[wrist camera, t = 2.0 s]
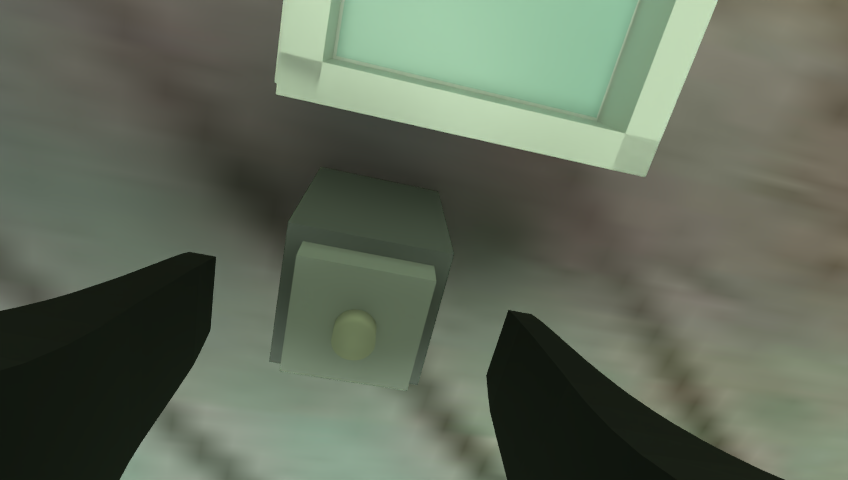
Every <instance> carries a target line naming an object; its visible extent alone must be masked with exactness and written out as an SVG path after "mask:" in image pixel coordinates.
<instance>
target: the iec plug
mask: <svg viewBox="0 0 848 480" xmlns="http://www.w3.org/2000/svg"><path fill="white" fill-rule="evenodd" d="M453 256H454V252H453V248H452V244H451V240H450V236H449V232H448V228H447V224H446V220H445V216H444V212H443V208H442V204H441V200H440V196H439V192H438V191H433V190H429V189H424V188H419V187H414V186H410V185H405V184H400V183H395V182H391V181H386V180H381V179H376V178H371V177H367V176H362V175H357V174H352V173H348V172H343V171H338V170H333V169H329V168H324V167H321V168H320V169H319V171H318V173H317V174H316V176H315V178H314V179H313V181H312V183H311V184H310V186H309V188H308V189H307V191H306V193H305V194H304V196H303V198H302V200H301V201H300V203H299V205H298V206H297V208H296V210H295V211H294V213H293V215H292V216H291V218H290V220H289V221H288V226H287V233H286V241H285V248H284V255H283V263H282V270H281V278H280V285H279V293H278V300H277V307H276V315H275V322H274V330H273V337H272V345H271V352H270V359H269V362H274V363H280V371H281V372H288V373H294V374H301V375H307V376H314V377H320V378H327V379H333V380H340V381H346V382H353V383H359V384H366V385H372V386H379V387H385V388H392V389H398V390H405V391H407V389H408V385H409V384H415V385H418V382H419V378H420V375H421V371H422V368H423V364H424V360H425V357H426V353H427V350H428V346H429V342H430V339H431V335H432V332H433V328H434V324H435V321H436V317H437V314H438V310H439V307H440V303H441V299H442V296H443V292H444V289H445V285H446V281H447V278H448V274H449V271H450V267H451V263H452V260H453Z"/></svg>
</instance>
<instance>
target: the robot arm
mask: <svg viewBox="0 0 848 480" xmlns="http://www.w3.org/2000/svg"><path fill="white" fill-rule="evenodd" d="M215 263H216V257H214V256H209V255H203V254H198V253H192V252H187V253H183V254H180V255H177V256H174V257H171V258H169V259H166V260H163V261H161V262H158V263H156V264H153V265H150V266H148V267H145V268H142V269H140V270H137V271H134V272H132V273H129V274H127V275H124V276H121V277H118V278H116V279H113V280H110V281H107V282H104V283H101V284H98V285H95V286H92V287H89V288H86V289H83V290H80V291H77V292H74V293H70V294H67V295H64V296H60V297H56V298H53V299H49V300H45V301H41V302H37V303H33V304H29V305H25V306H21V307H17V308H12V309H8V310H3V311H0V480H120V478H121V476H122V474H123V472H124V470H125V468H126V467H127V465H128V463H129V461H130V460H131V458H132V456H133V455H134V453H135V452H136V450H137V448H138V447H139V445H140V443H141V442H142V440H143V439H144V438H145V436H146V435H147V433H148V432H149V430H150V429H151V427H152V426H153V424H154V423H155V421H156V420H157V418H158V417H159V415H160V414H161V413H162V411H163V410H164V408H165V407H166V405H167V404H168V402H169V401H170V399H171V398H172V396H173V395H174V393H175V392H176V391H177V389H178V388H179V386H180V385H181V383H182V382H183V380H184V379H185V377H186V376H187V374H188V373H189V371H190V369H191V368H192V366H193V365H194V363H195V361H196V359H197V357H198V355H199V353H200V351H201V349H202V347H203V345H204V343H205V340H206V338H207V336H208V334H209V332H210V328H211V315H212V302H213V289H214V276H215ZM486 376H487V388H488V398H489V406H490V413H491V417H492V421H493V425H494V429H495V434H496V438H497V442H498V446H499V449H500V453H501V457H502V461H503V465H504V469H505V473H506V477H507V480H784V479H782V478H779V477H777V476H775V475H772V474H770V473H767V472H765V471H763V470H761V469H759V468H756V467H754V466H752V465H750V464H748V463H746V462H744V461H742V460H740V459H738V458H736V457H734V456H732V455H730V454H728V453H726V452H724V451H722V450H720V449H718V448H716V447H714V446H712V445H710V444H709V443H707V442H705V441H703V440H701V439H699V438H698V437H696V436H694V435H692V434H691V433H689V432H687V431H686V430H684V429H682V428H680V427H679V426H677V425H675V424H673V423H672V422H670V421H669V420H667V419H665V418H664V417H662V416H661V415H659V414H657V413H656V412H654V411H653V410H651V409H650V408H648V407H647V406H645V405H644V404H643V403H641V402H640V401H638V400H637V399H635V398H634V397H632V396H631V395H629V394H628V393H627V392H625V391H624V390H623V389H621V388H620V387H619V386H617V385H616V384H615V383H613V382H612V381H611V380H610V379H608V378H607V377H606V376H605V375H603V374H602V373H601V372H599V371H598V370H597V369H596V368H595V367H593V366H592V365H591V364H590V363H589V362H587V361H586V360H585V359H584V358H583V357H582V356H580V355H579V354H578V353H577V352H576V351H575V350H574V349H572V348H571V347H570V346H569V345H568V344H567V343H566V342H564V341H563V340H562V339H561V338H560V337H559V336H558V335H557V334H555V333H554V332H553V331H552V330H551V329H550V328H549V327H547V326H546V325H545V324H544V323H543V322H541V321H540V320H539V319H538V318H536V317H535V316H533V315H532V314H527V313H522V312H516V311H511V310H508V313H507V316H506V319H505V322H504V325H503V328H502V331H501V334H500V337H499V340H498V343H497V346H496V349H495V351H494V354H493V357H492V360H491V363H490V366H489V369H488V372H487V375H486Z"/></svg>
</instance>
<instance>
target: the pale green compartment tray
mask: <svg viewBox="0 0 848 480" xmlns="http://www.w3.org/2000/svg"><path fill="white" fill-rule="evenodd" d="M717 1H718V0H283V8H282V18H281V27H280V36H279V45H278V54H277V63H276V72H275V81H274V83H277V89H276V94H277V95H282V96H286V97H290V98H295V99H299V100H304V101H308V102H313V103H317V104H322V105H326V106H331V107H335V108H339V109H344V110H348V111H353V112H357V113H362V114H366V115H371V116H375V117H379V118H384V119H388V120H393V121H397V122H402V123H406V124H411V125H415V126H419V127H424V128H428V129H433V130H437V131H442V132H446V133H451V134H455V135H460V136H464V137H468V138H473V139H477V140H482V141H486V142H491V143H495V144H500V145H504V146H508V147H513V148H517V149H522V150H526V151H531V152H535V153H540V154H544V155H548V156H553V157H557V158H562V159H566V160H571V161H575V162H580V163H584V164H589V165H593V166H597V167H602V168H606V169H611V170H615V171H620V172H624V173H629V174H633V175H637V176H642V177H646V174H647V172H648V170H649V167H650V165H651V162H652V160H653V157H654V155H655V152H656V150H657V148H658V145H659V143H660V140H661V138H662V135H663V133H664V130H665V128H666V126H667V123H668V121H669V118H670V116H671V113H672V111H673V109H674V106H675V104H676V101H677V99H678V96H679V94H680V91H681V89H682V87H683V84H684V82H685V79H686V77H687V74H688V72H689V70H690V67H691V65H692V62H693V60H694V57H695V55H696V52H697V50H698V48H699V45H700V43H701V40H702V38H703V35H704V33H705V30H706V28H707V26H708V23H709V21H710V18H711V16H712V13H713V11H714V9H715V6H716V4H717Z"/></svg>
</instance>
